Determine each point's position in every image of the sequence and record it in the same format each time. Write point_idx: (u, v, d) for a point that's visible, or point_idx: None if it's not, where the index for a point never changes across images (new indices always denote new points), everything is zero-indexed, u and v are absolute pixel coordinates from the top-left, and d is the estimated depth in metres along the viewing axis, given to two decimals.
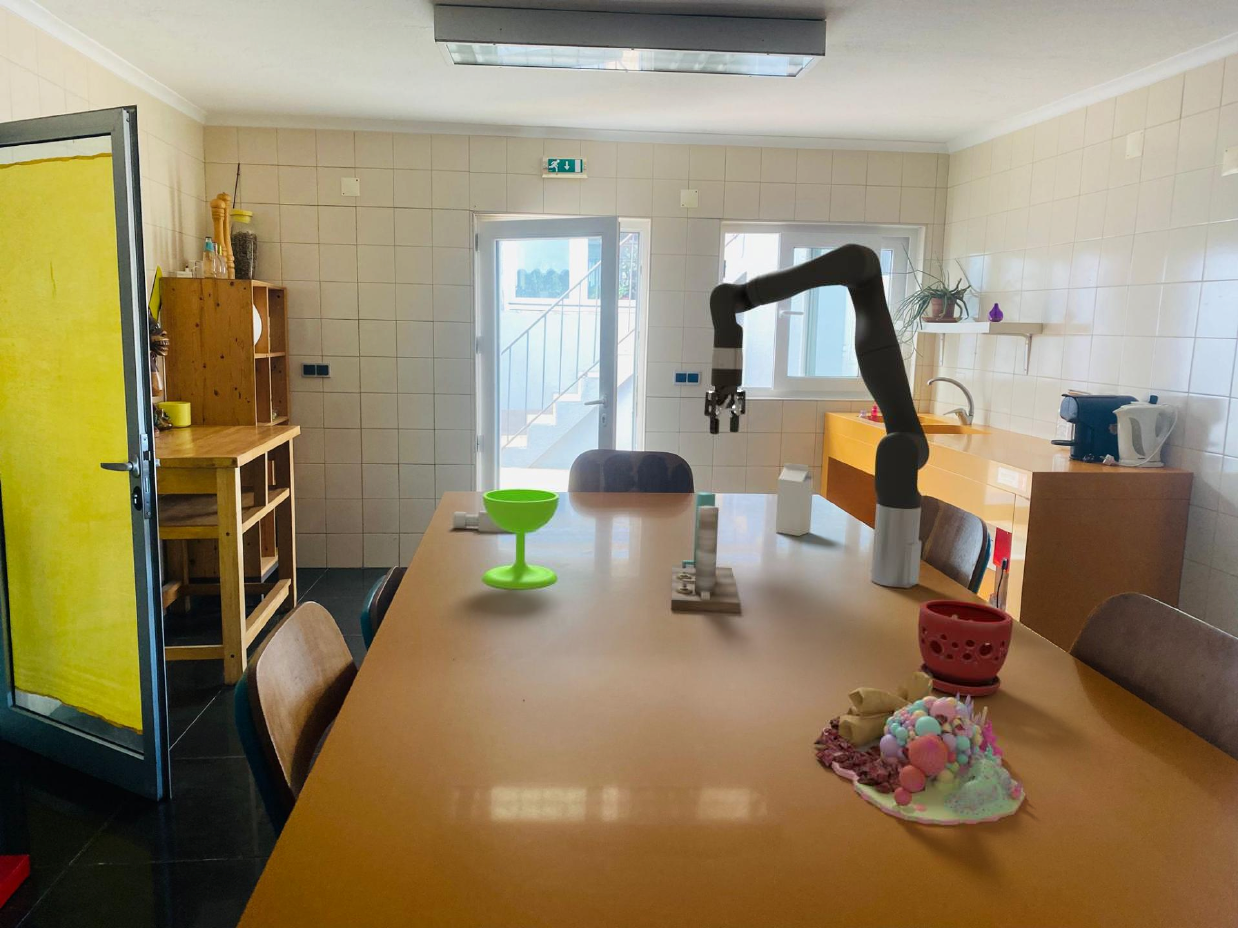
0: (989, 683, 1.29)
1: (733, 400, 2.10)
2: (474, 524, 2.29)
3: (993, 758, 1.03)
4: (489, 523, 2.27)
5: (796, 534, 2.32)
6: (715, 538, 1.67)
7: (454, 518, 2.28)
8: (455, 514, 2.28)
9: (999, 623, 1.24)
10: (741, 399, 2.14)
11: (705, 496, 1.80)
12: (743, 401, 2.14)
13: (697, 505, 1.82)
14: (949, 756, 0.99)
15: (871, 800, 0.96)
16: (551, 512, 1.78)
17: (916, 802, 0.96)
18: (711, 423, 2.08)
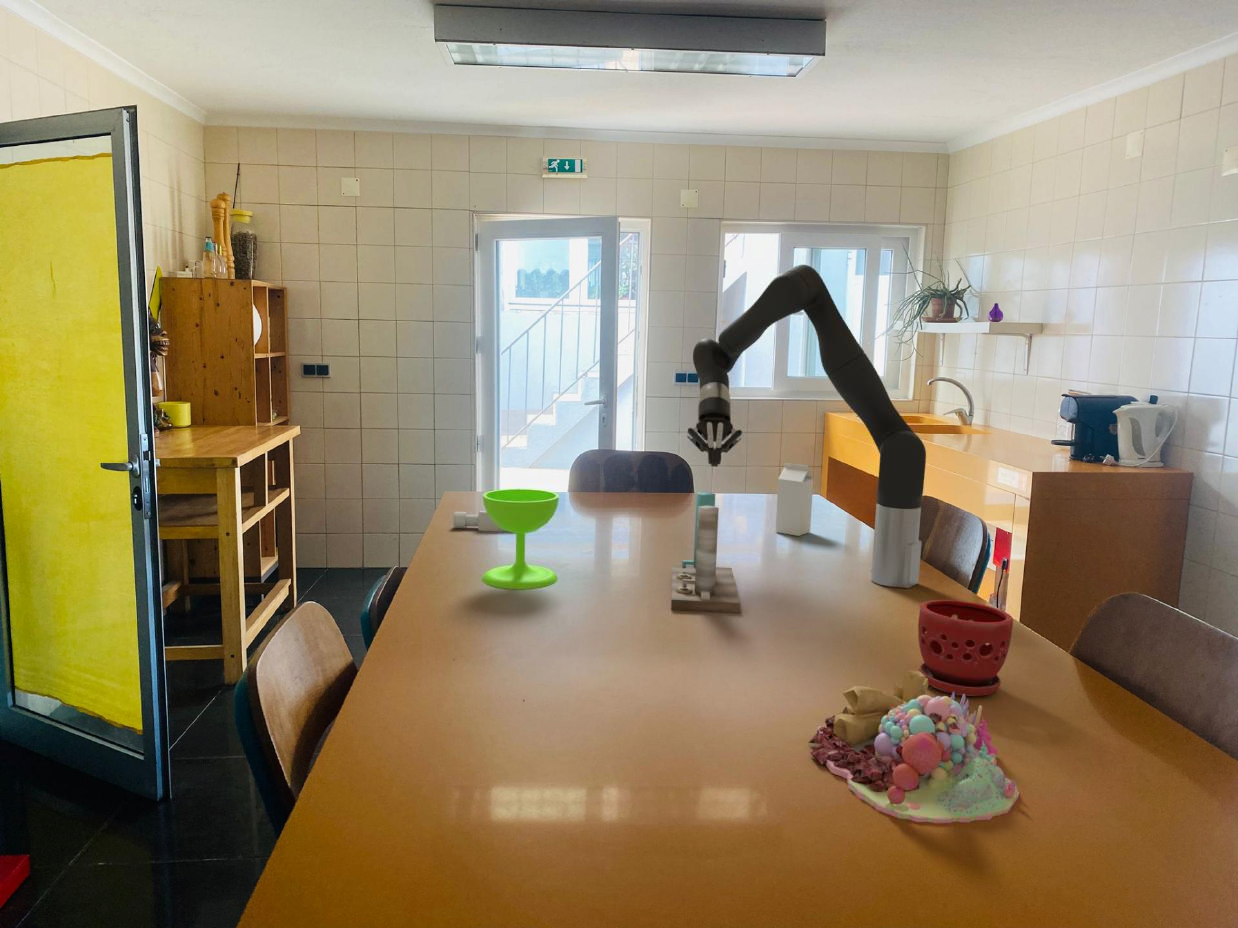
0: (989, 683, 1.29)
1: None
2: (474, 524, 2.29)
3: (987, 757, 1.04)
4: (489, 523, 2.28)
5: (796, 534, 2.32)
6: (715, 538, 1.67)
7: (454, 518, 2.28)
8: (455, 514, 2.29)
9: (999, 623, 1.24)
10: None
11: (705, 496, 1.80)
12: None
13: (697, 505, 1.82)
14: (943, 755, 1.00)
15: (865, 798, 0.97)
16: (551, 512, 1.78)
17: (909, 800, 0.96)
18: None
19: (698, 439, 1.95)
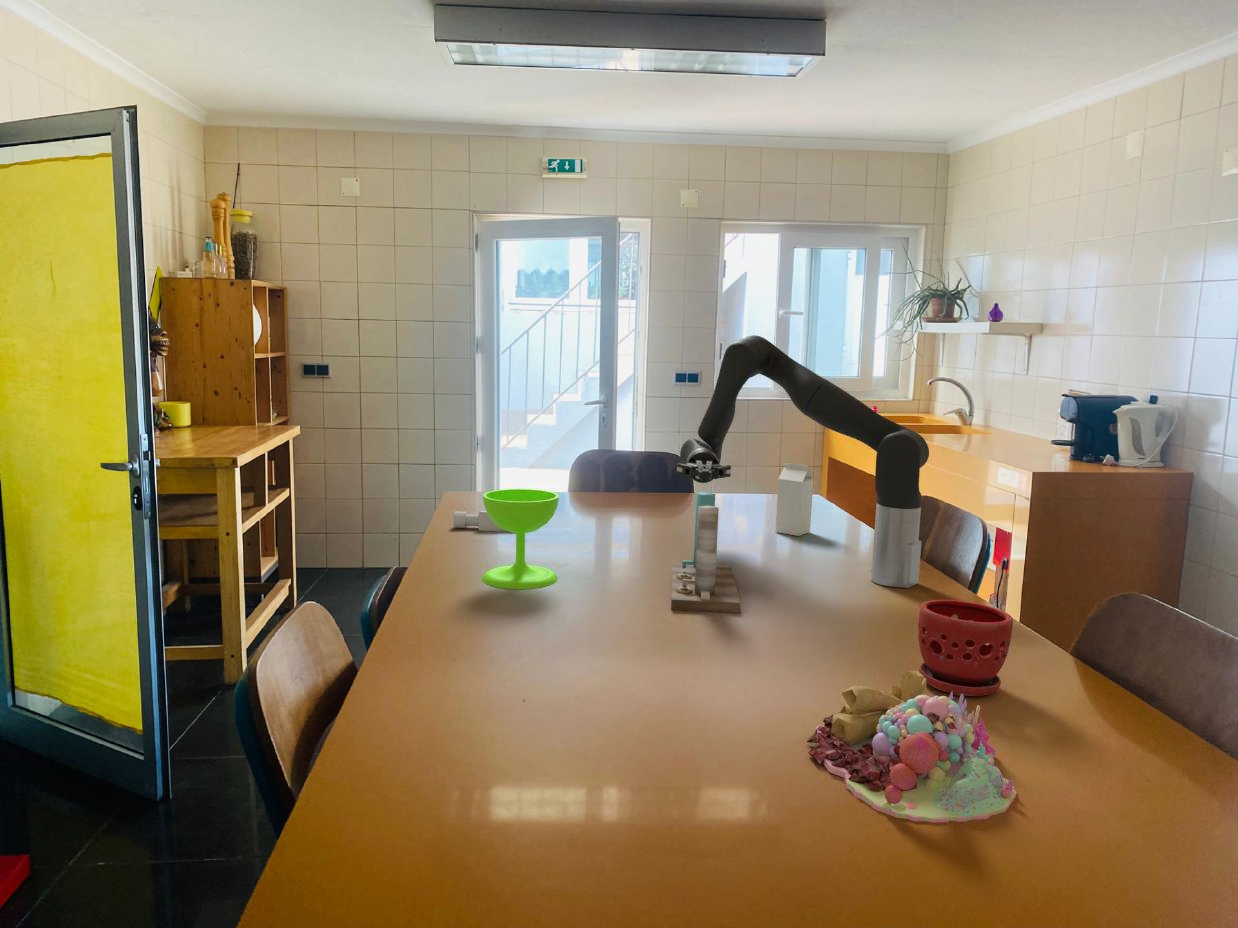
0: (989, 683, 1.29)
1: None
2: (474, 524, 2.29)
3: (985, 757, 1.04)
4: (489, 522, 2.28)
5: (796, 534, 2.32)
6: (715, 538, 1.67)
7: (454, 518, 2.28)
8: (455, 514, 2.29)
9: (999, 623, 1.24)
10: None
11: (705, 496, 1.80)
12: None
13: (697, 505, 1.82)
14: (941, 754, 1.00)
15: (862, 798, 0.97)
16: (551, 512, 1.78)
17: (907, 800, 0.96)
18: None
19: (688, 465, 1.94)
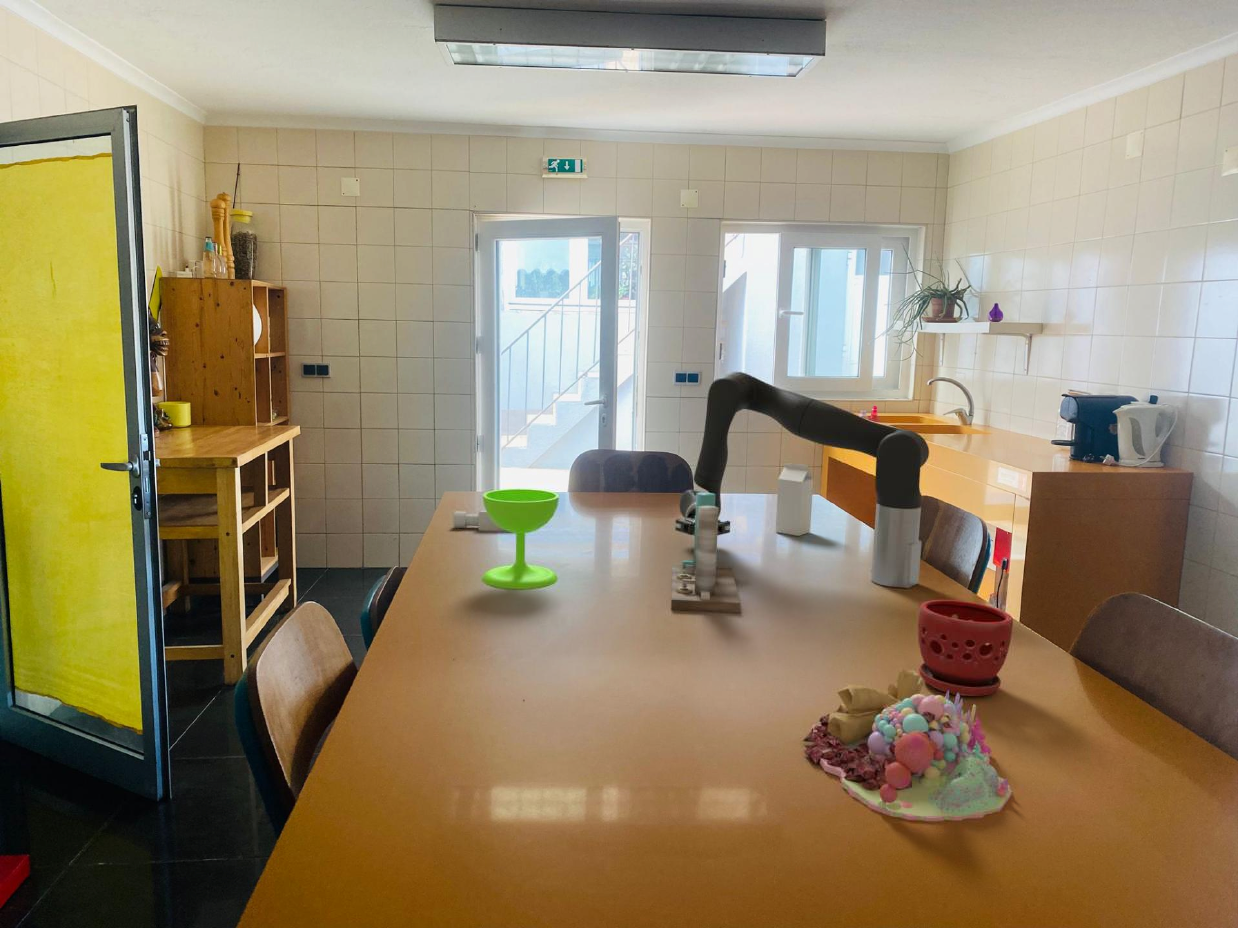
0: (989, 683, 1.29)
1: None
2: (474, 524, 2.29)
3: (981, 756, 1.04)
4: (489, 522, 2.28)
5: (796, 534, 2.32)
6: (715, 538, 1.67)
7: (454, 518, 2.28)
8: (455, 514, 2.29)
9: (999, 623, 1.24)
10: None
11: (705, 496, 1.80)
12: None
13: (697, 505, 1.81)
14: (936, 753, 1.00)
15: (858, 797, 0.97)
16: (551, 512, 1.78)
17: (902, 799, 0.96)
18: None
19: (687, 522, 1.91)
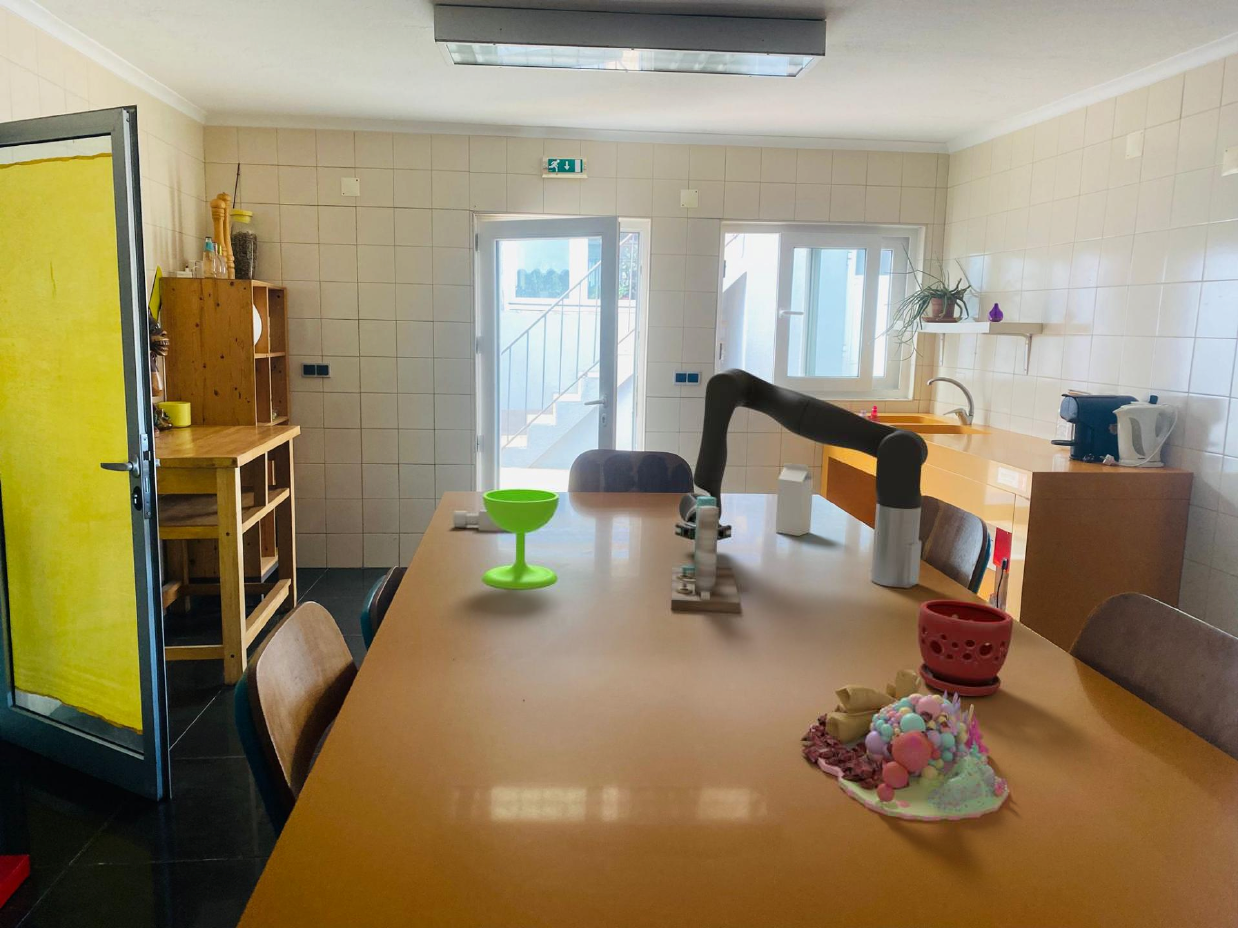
0: (989, 683, 1.29)
1: None
2: (474, 523, 2.30)
3: (978, 755, 1.04)
4: (489, 522, 2.28)
5: (796, 534, 2.32)
6: (715, 538, 1.67)
7: (454, 517, 2.29)
8: (455, 513, 2.29)
9: (999, 623, 1.24)
10: None
11: (706, 500, 1.75)
12: None
13: None
14: (933, 753, 1.00)
15: (855, 796, 0.97)
16: (551, 512, 1.78)
17: (899, 798, 0.96)
18: None
19: (687, 526, 1.86)
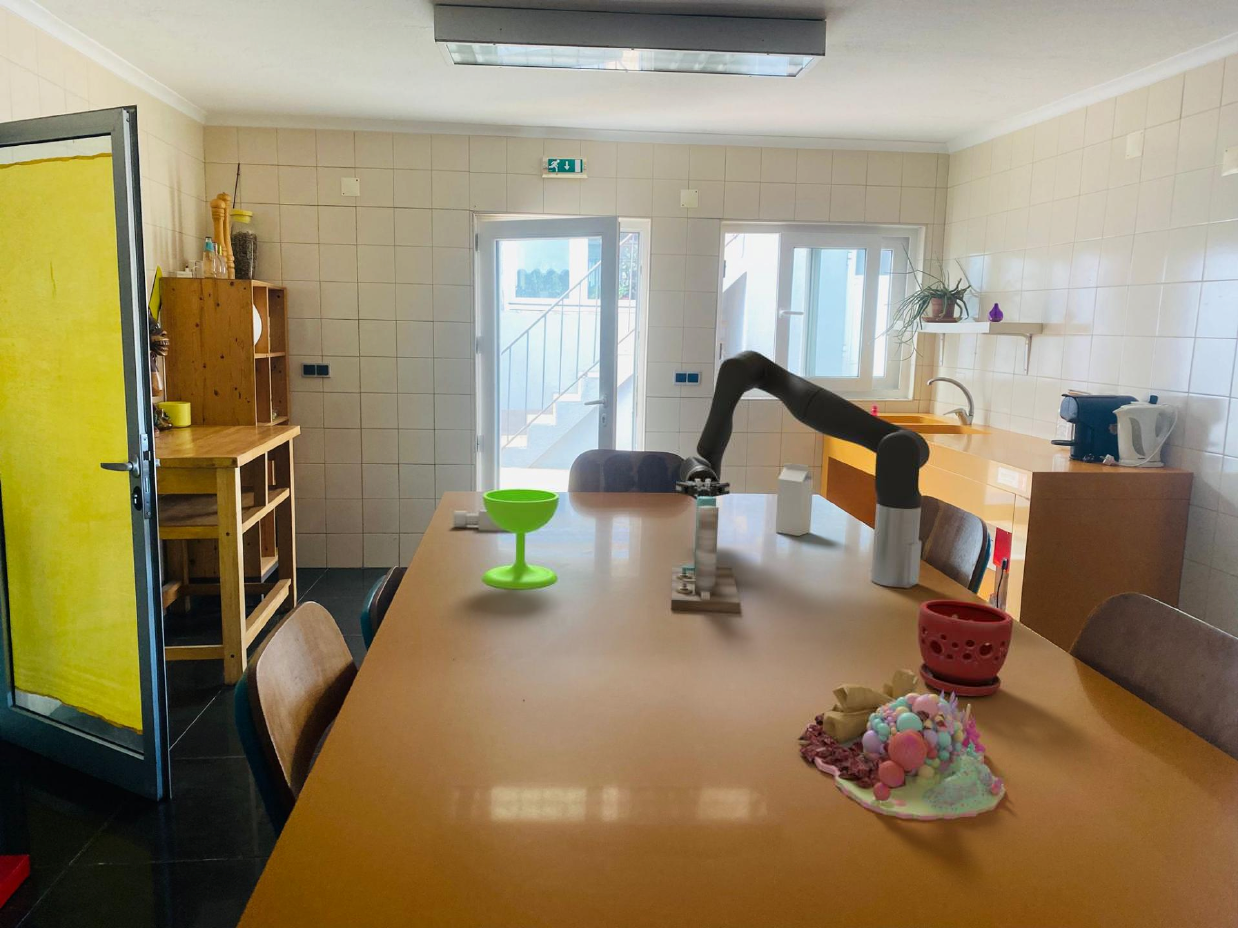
0: (989, 683, 1.29)
1: None
2: (474, 523, 2.30)
3: (975, 755, 1.04)
4: (490, 522, 2.29)
5: (796, 534, 2.32)
6: (715, 538, 1.67)
7: (454, 517, 2.29)
8: (455, 513, 2.30)
9: (999, 623, 1.24)
10: None
11: (706, 500, 1.75)
12: None
13: None
14: (930, 752, 1.00)
15: (851, 795, 0.97)
16: (551, 512, 1.78)
17: (895, 797, 0.96)
18: None
19: (687, 484, 1.95)
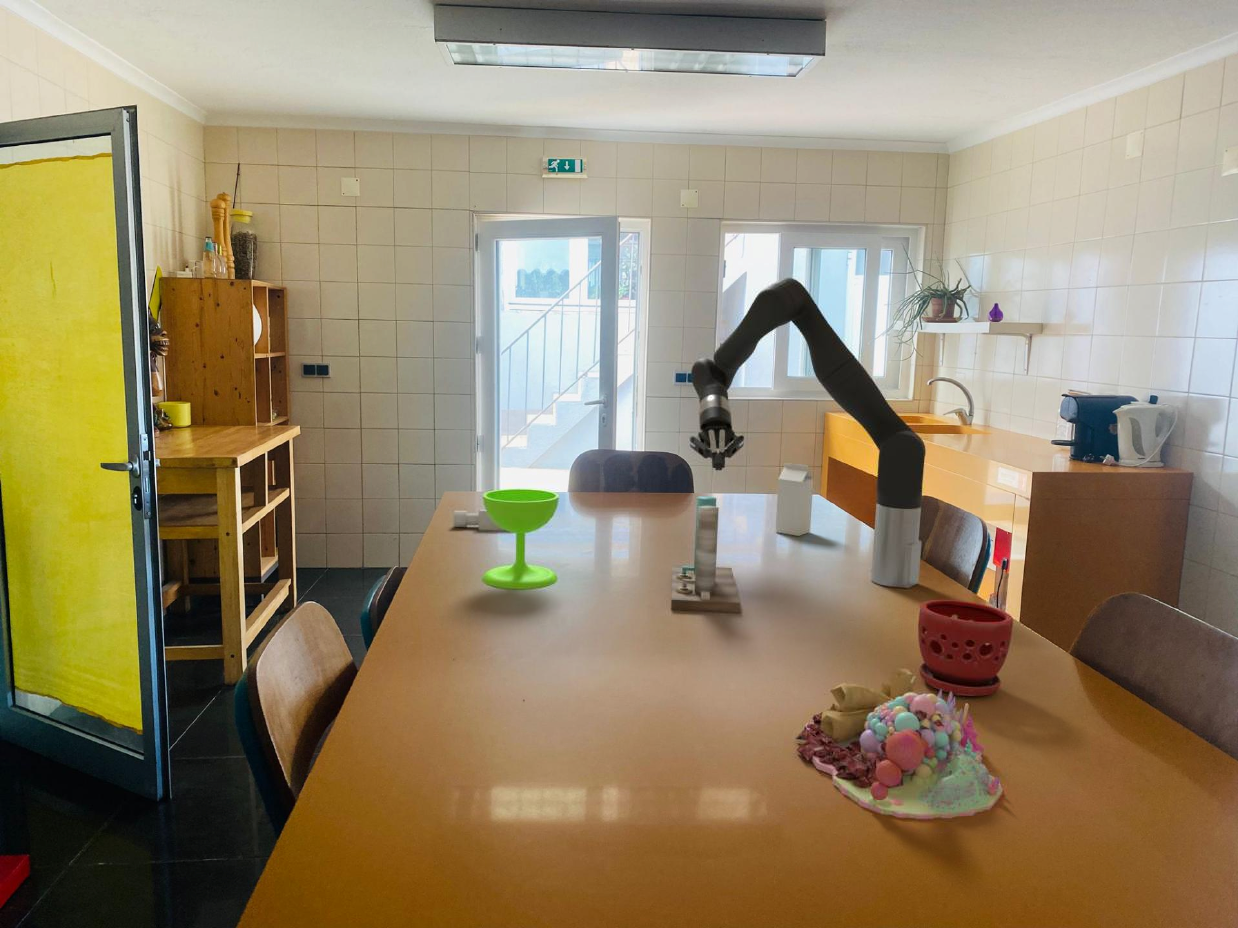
0: (989, 683, 1.29)
1: None
2: (474, 523, 2.30)
3: (972, 754, 1.04)
4: (490, 521, 2.29)
5: (796, 534, 2.32)
6: (715, 538, 1.67)
7: (454, 517, 2.29)
8: (455, 513, 2.30)
9: (999, 623, 1.24)
10: None
11: (706, 500, 1.75)
12: None
13: None
14: (927, 751, 1.00)
15: (849, 794, 0.98)
16: (551, 512, 1.78)
17: (893, 796, 0.97)
18: None
19: (701, 446, 1.95)
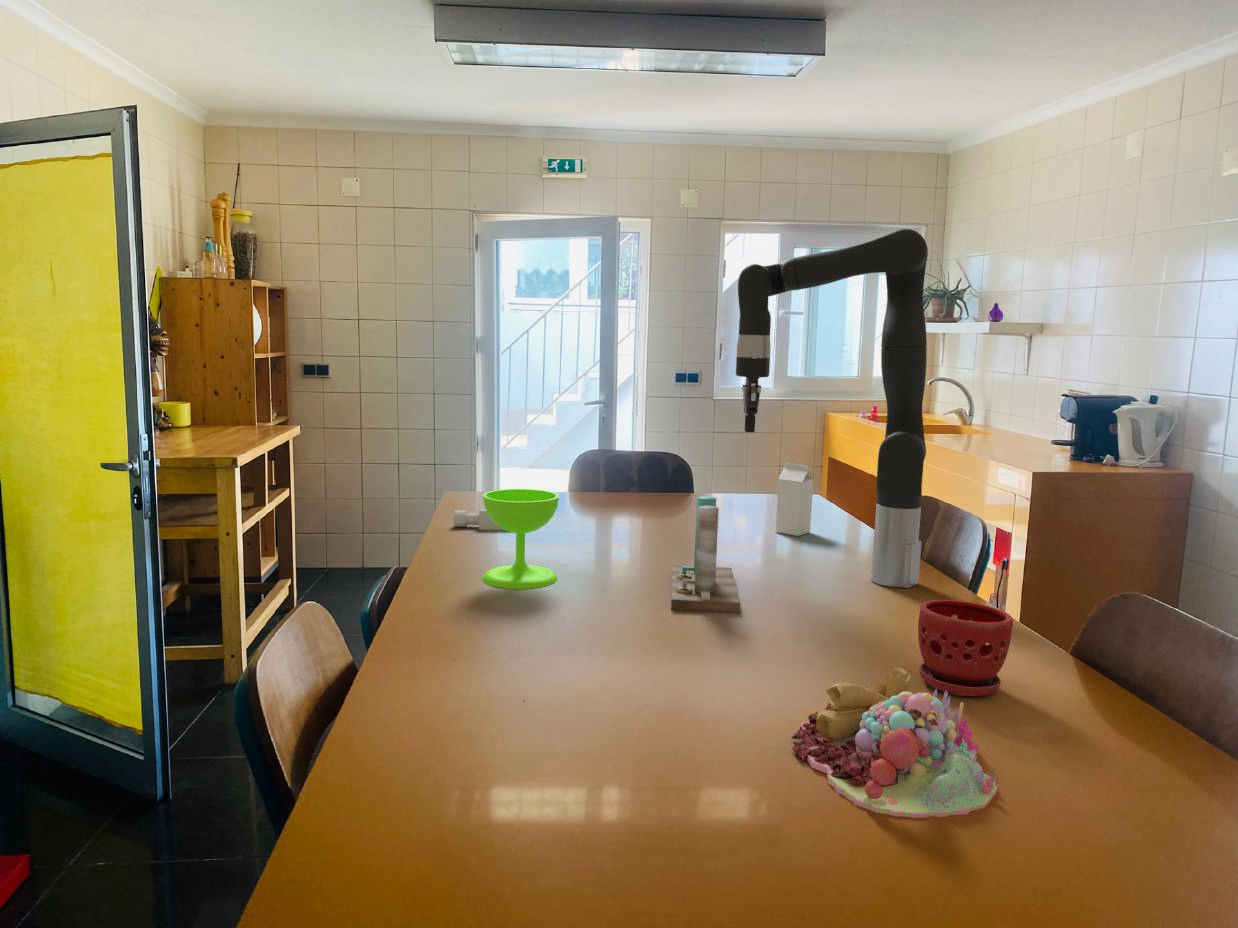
0: (989, 683, 1.29)
1: None
2: (474, 522, 2.30)
3: (967, 753, 1.04)
4: (490, 521, 2.29)
5: (796, 534, 2.32)
6: (715, 538, 1.67)
7: (455, 517, 2.29)
8: (455, 513, 2.30)
9: (999, 623, 1.24)
10: None
11: (706, 500, 1.75)
12: (747, 401, 1.91)
13: None
14: (922, 750, 1.00)
15: (843, 793, 0.98)
16: (551, 512, 1.78)
17: (887, 795, 0.97)
18: None
19: (757, 407, 1.92)
